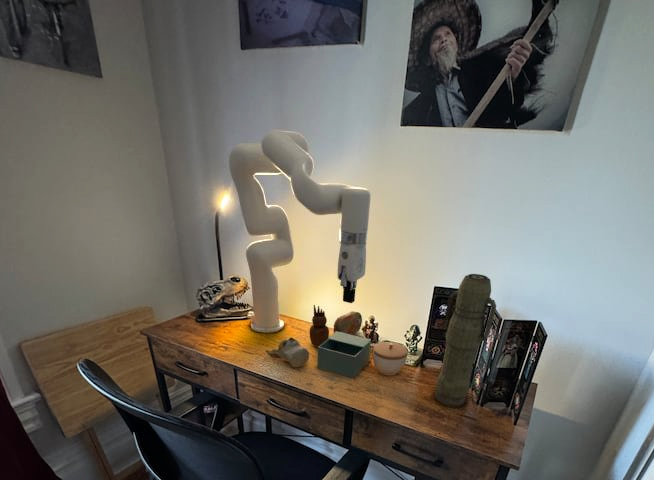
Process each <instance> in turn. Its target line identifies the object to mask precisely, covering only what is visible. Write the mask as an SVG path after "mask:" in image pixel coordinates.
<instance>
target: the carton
mask: <svg viewBox="0 0 654 480" xmlns="http://www.w3.org/2000/svg"><path fill="white" fill-rule="evenodd" d="M371 346H372V340H371V341H370V342H369V343H368V344H367V345H366V346H365V347H364V348H362V347H358V346H354V345H350V344H346V343H342V342H338V341H334V340H330V339H328V340H327V341H325V342H324V343H323V344H321V345H320V346H319V347H317V369H321V370H323V371H328V372H332V373H335V374H339V375H342V376H345V377H349V378H352V379H354V378H355V377H356V376H357V375H358V374H359V373H360V372H361V371H362V370H363V369H364V368H365V366H366V365H367V364H368V363H369V362H370V358H371Z"/></svg>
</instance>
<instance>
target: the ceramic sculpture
mask: <svg viewBox="0 0 654 480" xmlns="http://www.w3.org/2000/svg"><path fill="white" fill-rule="evenodd" d="M265 352H266V354H267V355H268V356H270V357H271V358H272V359H275V360H283V361H284V362H288V363H289V364H290V365H291V366H292V367H293V368H302V367H304V365H306V364H307V363H308V361H309V358H310V352H309V350H308V348H306V347H302V345H301V344H300V343H299V341H298V340H297V339H296V338H294V337H291V336H290V337H289V338H285V339H282V340H281V341H280V342H279V344H278V347H277V349H271V350H268V349H266V350H265Z"/></svg>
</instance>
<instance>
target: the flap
mask: <svg viewBox="0 0 654 480" xmlns="http://www.w3.org/2000/svg"><path fill="white" fill-rule="evenodd" d="M328 339H330V340H334V341H338V342H342V343H346V344H350V345H354V346H358V347H362V348H364V347H365V346H366V345H367V344H368V343H369V342H370V341H371V342H372V339H371V338H366V337H362V336H358V335H355V334H354V335H350V334H346V333H342V332H337V331H336V332H335V333H334V332H333V333H332V334H331V335H329V338H328Z"/></svg>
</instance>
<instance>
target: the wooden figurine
mask: <svg viewBox="0 0 654 480" xmlns="http://www.w3.org/2000/svg"><path fill="white" fill-rule="evenodd" d="M325 313H326V312H325V310H323V308H320V305H318V306H317V307H316V305H315V304H313V316H312V317H311V321H312V324H311V326H310V327H309V339H310V343H311V344H312V346H314V347H316V348H318V347H319V346H320V345H321V344H323V343H324V342H325V341H327V340H328V338H329V337H330V329H329V327H328V326H327V322H328V319H327V316H326V314H325Z"/></svg>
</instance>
